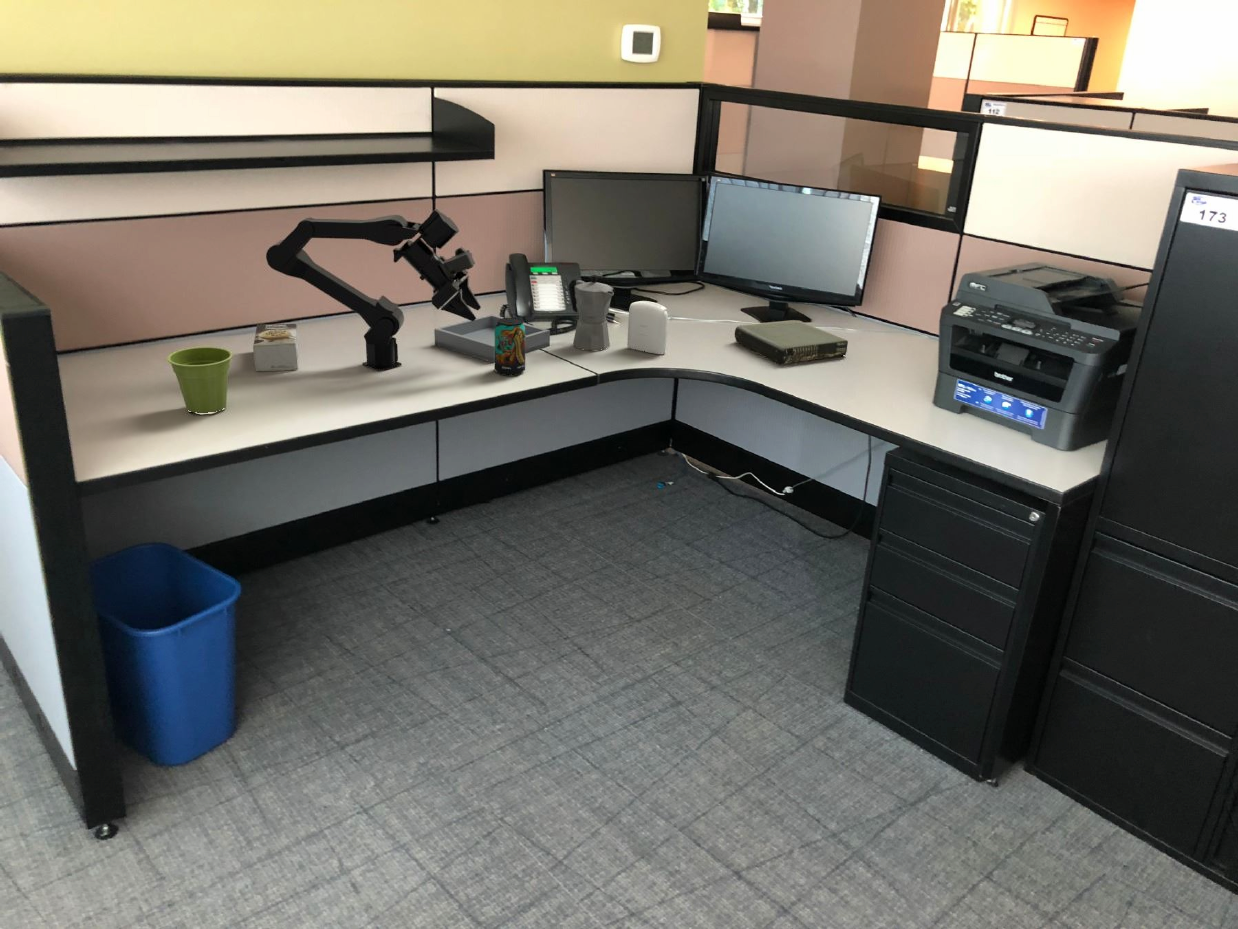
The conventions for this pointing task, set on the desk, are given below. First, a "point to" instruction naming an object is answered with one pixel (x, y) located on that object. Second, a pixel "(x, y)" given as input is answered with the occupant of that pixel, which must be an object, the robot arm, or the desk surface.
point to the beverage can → (510, 346)
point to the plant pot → (202, 377)
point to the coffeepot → (591, 313)
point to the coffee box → (276, 347)
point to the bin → (484, 337)
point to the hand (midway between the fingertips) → (477, 314)
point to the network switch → (790, 341)
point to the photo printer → (647, 327)
